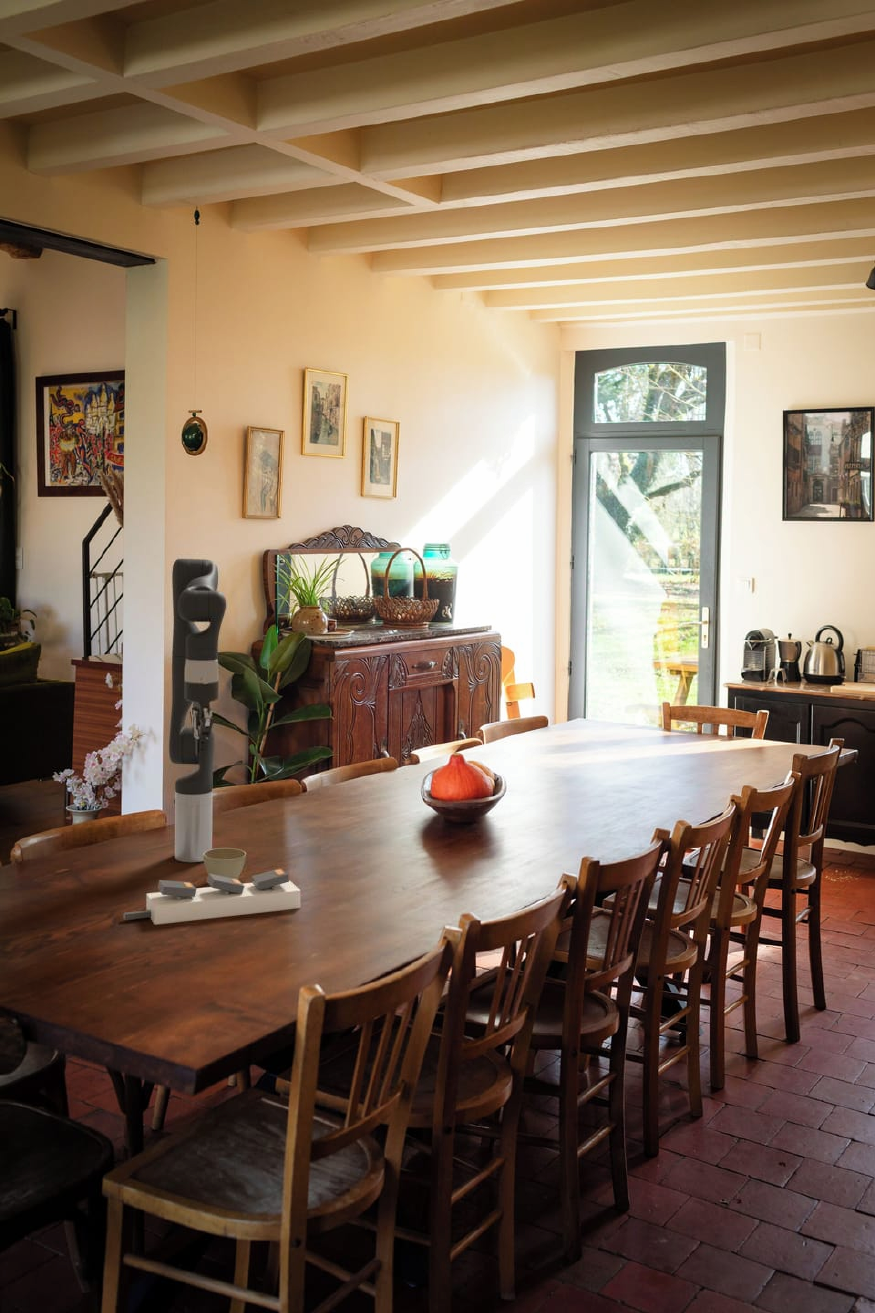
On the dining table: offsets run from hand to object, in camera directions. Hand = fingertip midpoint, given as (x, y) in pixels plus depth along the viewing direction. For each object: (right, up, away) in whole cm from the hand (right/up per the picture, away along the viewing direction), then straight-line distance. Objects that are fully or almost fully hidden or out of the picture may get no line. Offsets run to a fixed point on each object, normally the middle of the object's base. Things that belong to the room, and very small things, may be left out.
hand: (201, 754), depth 265 cm
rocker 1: (-3, -28, -13) cm, 31 cm away
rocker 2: (+7, -28, -9) cm, 30 cm away
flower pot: (+3, -31, +11) cm, 33 cm away
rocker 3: (+16, -28, -4) cm, 33 cm away
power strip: (+4, -33, -9) cm, 35 cm away
